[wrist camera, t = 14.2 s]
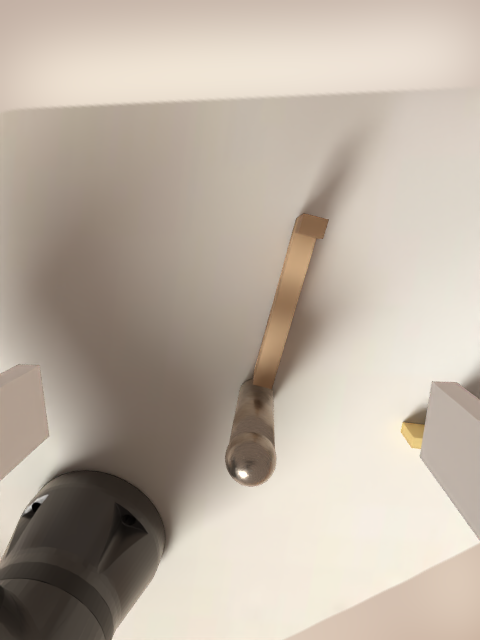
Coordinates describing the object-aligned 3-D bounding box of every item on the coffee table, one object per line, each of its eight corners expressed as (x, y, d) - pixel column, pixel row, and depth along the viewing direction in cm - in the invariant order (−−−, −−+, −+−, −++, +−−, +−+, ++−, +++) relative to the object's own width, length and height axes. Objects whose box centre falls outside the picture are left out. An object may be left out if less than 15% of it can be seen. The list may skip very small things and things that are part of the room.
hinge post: (236, 409, 32) (220, 495, 21) (239, 375, 31) (223, 448, 20) (272, 412, 31) (274, 502, 21) (275, 379, 30) (279, 455, 20)
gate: (271, 374, 30) (271, 407, 24) (254, 370, 30) (250, 402, 24) (315, 223, 26) (328, 219, 21) (296, 218, 26) (303, 213, 21)
